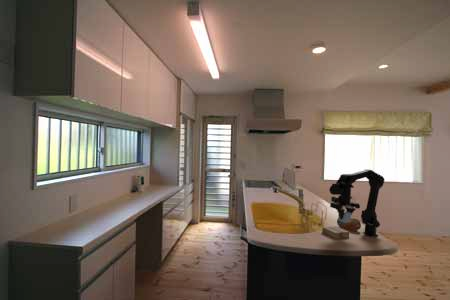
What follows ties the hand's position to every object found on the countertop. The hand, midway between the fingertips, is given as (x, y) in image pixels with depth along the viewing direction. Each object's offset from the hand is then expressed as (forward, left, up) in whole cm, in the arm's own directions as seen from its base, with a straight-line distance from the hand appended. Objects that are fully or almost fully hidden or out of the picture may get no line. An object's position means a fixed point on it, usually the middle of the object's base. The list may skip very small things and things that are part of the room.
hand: (344, 219), depth 148 cm
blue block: (0, 0, -1) cm, 1 cm away
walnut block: (+3, -4, -12) cm, 13 cm away
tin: (-16, -12, -12) cm, 23 cm away
